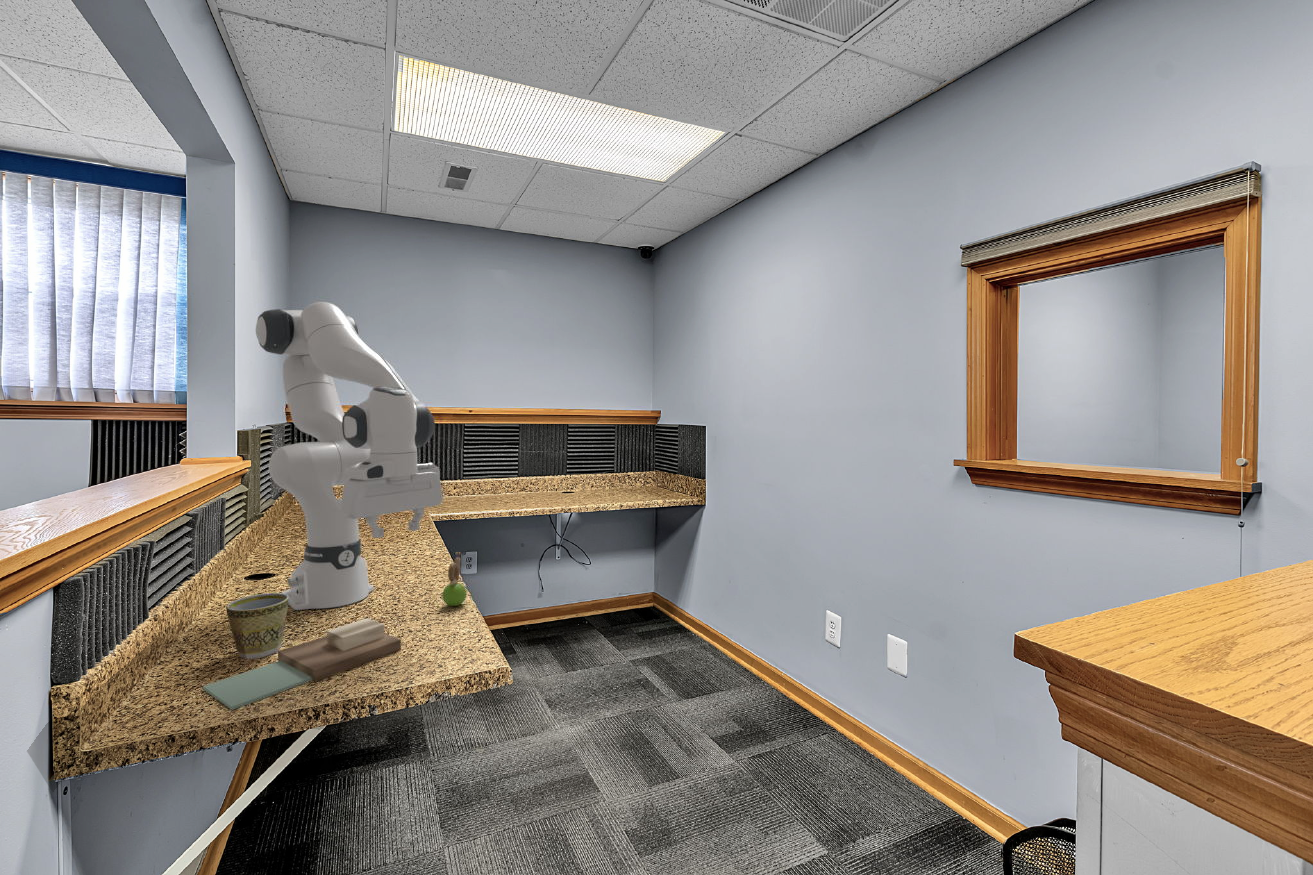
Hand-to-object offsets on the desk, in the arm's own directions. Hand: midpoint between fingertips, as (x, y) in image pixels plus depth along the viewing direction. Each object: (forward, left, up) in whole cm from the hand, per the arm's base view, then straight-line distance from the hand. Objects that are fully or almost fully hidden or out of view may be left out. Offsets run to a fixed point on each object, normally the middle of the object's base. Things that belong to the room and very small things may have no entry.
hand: (396, 533), depth 121 cm
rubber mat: (0, -26, -21) cm, 34 cm away
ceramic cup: (-16, -19, -22) cm, 33 cm away
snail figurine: (-6, +18, -22) cm, 29 cm away
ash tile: (0, -9, -19) cm, 21 cm away
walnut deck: (0, -12, -21) cm, 24 cm away
